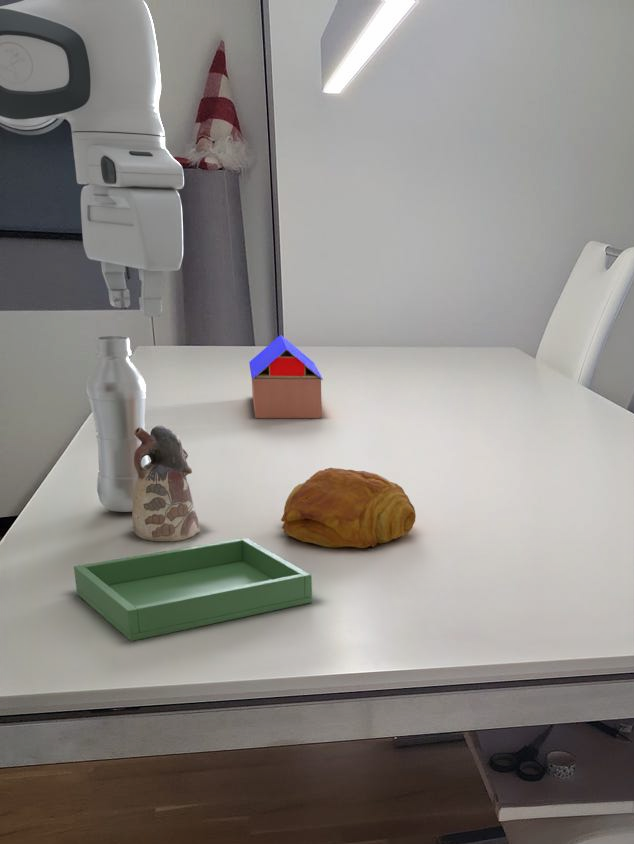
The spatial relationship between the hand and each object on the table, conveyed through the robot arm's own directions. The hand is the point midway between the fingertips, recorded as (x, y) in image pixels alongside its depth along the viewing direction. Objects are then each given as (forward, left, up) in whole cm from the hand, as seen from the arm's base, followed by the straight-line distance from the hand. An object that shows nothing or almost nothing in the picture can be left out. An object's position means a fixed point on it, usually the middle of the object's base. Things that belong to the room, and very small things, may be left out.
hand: (135, 311), depth 109 cm
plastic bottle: (0, +8, -24) cm, 25 cm away
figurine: (0, -3, -24) cm, 24 cm away
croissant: (+17, -13, -24) cm, 32 cm away
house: (+48, +58, -24) cm, 79 cm away
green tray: (-6, -24, -24) cm, 34 cm away
